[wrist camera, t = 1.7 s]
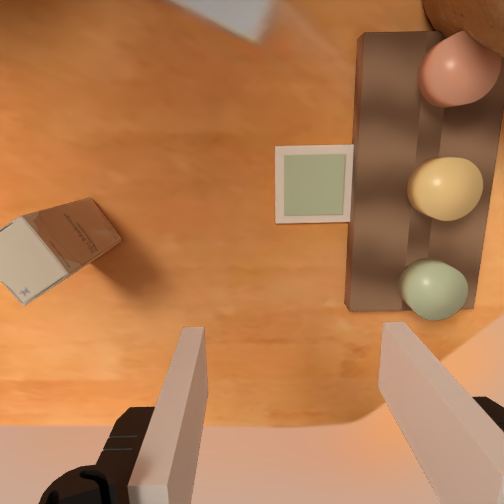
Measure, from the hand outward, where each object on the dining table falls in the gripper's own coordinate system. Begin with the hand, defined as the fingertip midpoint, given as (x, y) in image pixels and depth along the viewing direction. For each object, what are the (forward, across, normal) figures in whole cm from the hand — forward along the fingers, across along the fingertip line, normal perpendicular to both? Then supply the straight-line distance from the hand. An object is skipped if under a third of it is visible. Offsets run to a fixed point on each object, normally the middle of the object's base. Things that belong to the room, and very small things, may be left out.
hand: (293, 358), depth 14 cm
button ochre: (+21, +14, +4) cm, 26 cm away
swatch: (+23, +4, +4) cm, 24 cm away
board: (+23, +14, +4) cm, 27 cm away
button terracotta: (+21, +14, +12) cm, 28 cm away
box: (+23, -17, 0) cm, 29 cm away
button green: (+21, +14, -4) cm, 26 cm away
